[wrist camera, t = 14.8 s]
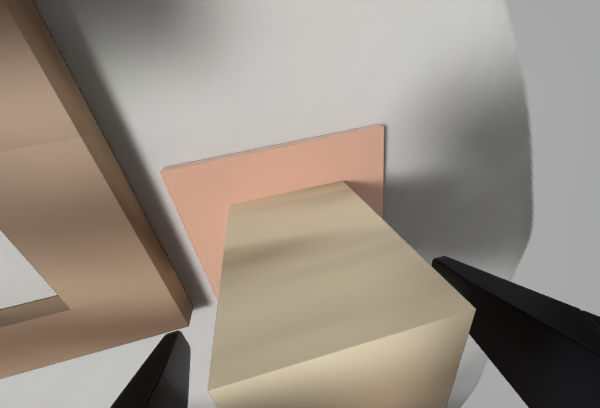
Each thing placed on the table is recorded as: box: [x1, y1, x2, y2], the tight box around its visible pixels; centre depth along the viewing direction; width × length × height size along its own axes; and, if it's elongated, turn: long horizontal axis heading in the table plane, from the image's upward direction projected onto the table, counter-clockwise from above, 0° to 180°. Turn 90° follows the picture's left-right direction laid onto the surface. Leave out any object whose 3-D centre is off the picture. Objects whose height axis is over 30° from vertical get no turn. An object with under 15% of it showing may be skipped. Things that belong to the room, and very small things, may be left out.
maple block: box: [208, 181, 476, 408], centre depth 8 cm, size 5×5×7 cm
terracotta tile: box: [160, 124, 384, 300], centre depth 12 cm, size 9×9×1 cm
